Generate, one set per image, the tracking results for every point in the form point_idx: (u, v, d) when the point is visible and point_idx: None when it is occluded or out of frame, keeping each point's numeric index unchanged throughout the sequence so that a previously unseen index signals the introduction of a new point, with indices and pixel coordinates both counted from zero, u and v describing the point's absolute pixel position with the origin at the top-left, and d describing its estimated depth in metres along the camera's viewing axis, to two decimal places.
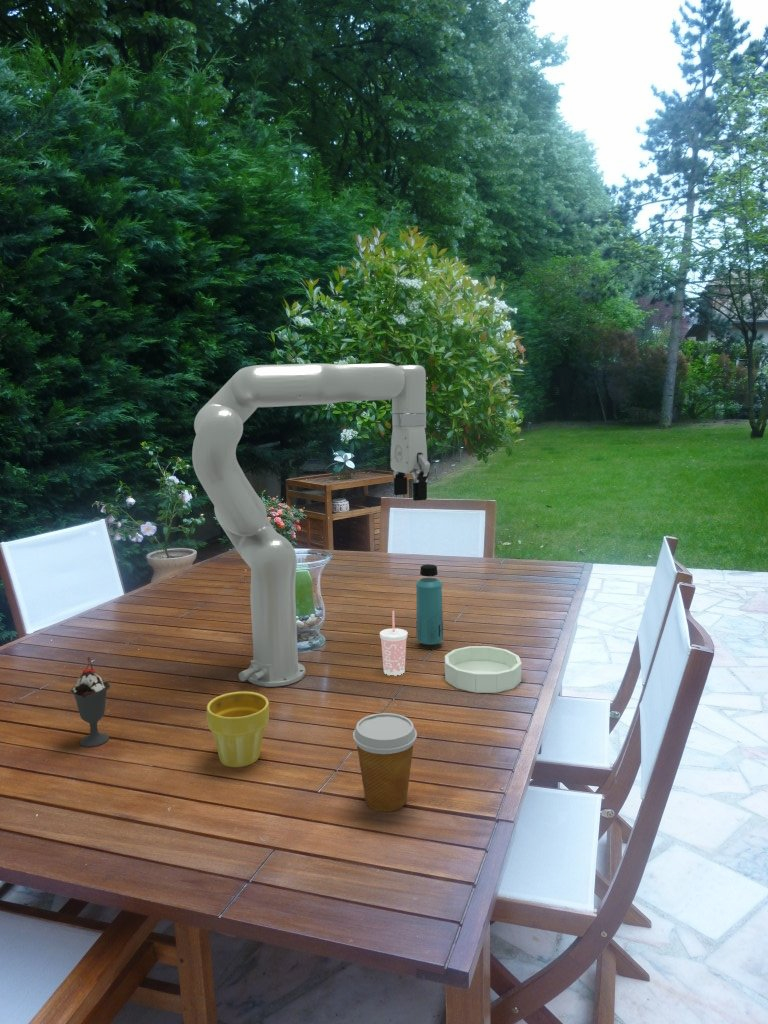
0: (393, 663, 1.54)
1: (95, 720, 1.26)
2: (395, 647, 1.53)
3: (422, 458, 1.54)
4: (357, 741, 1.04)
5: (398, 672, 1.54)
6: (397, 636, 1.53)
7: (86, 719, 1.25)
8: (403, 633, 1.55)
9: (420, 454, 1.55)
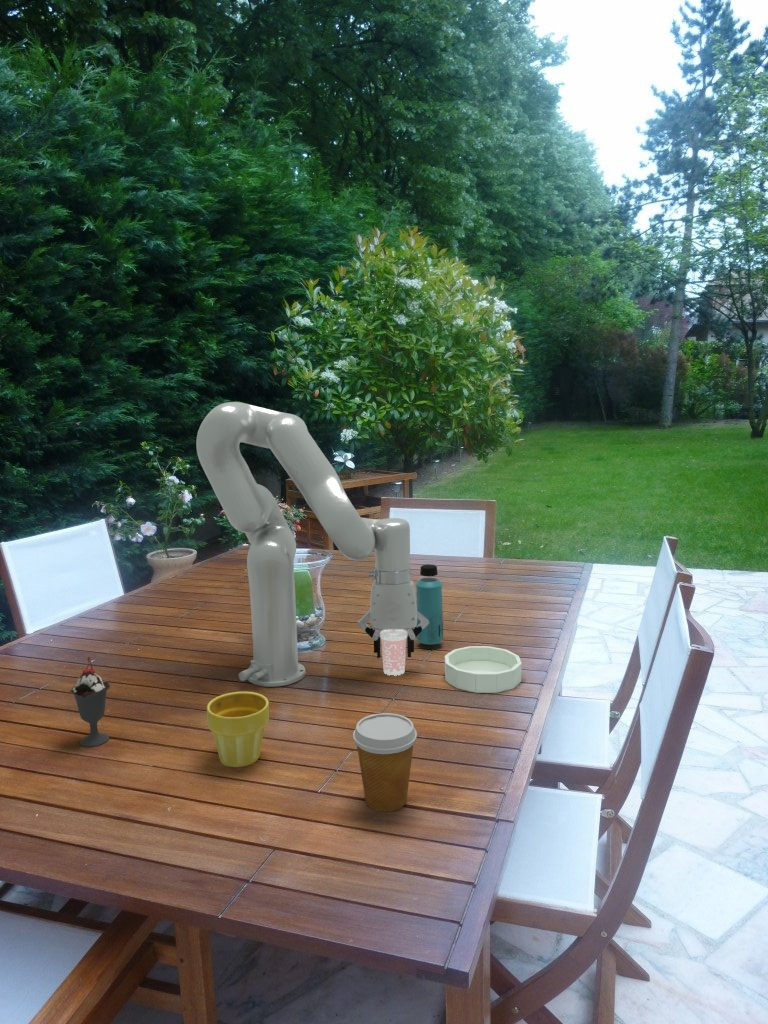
0: (393, 663, 1.54)
1: (95, 720, 1.26)
2: (395, 647, 1.53)
3: (421, 614, 1.54)
4: (357, 741, 1.04)
5: (398, 672, 1.54)
6: (397, 636, 1.53)
7: (86, 719, 1.25)
8: (403, 633, 1.55)
9: None
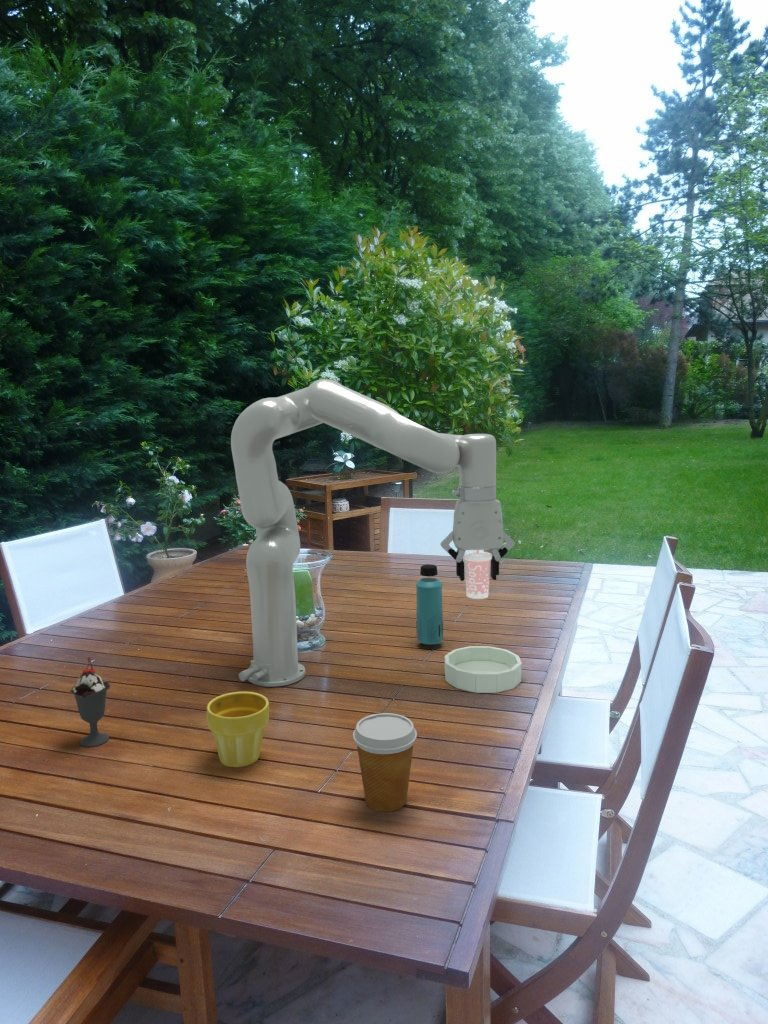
0: (478, 585, 1.47)
1: (95, 720, 1.26)
2: (480, 568, 1.46)
3: None
4: (357, 741, 1.04)
5: (483, 595, 1.48)
6: (482, 557, 1.47)
7: (86, 719, 1.25)
8: (487, 554, 1.48)
9: None
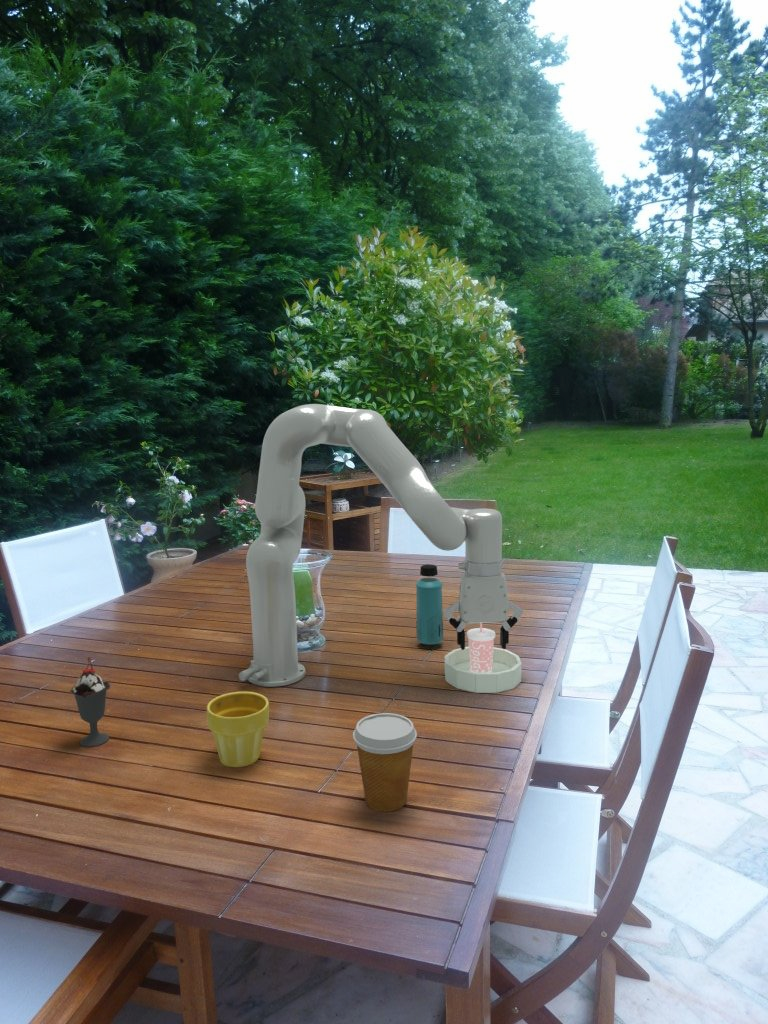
0: (482, 663, 1.50)
1: (95, 720, 1.26)
2: (484, 647, 1.49)
3: (513, 604, 1.50)
4: (357, 741, 1.04)
5: None
6: (486, 636, 1.49)
7: (86, 719, 1.25)
8: (491, 633, 1.51)
9: None
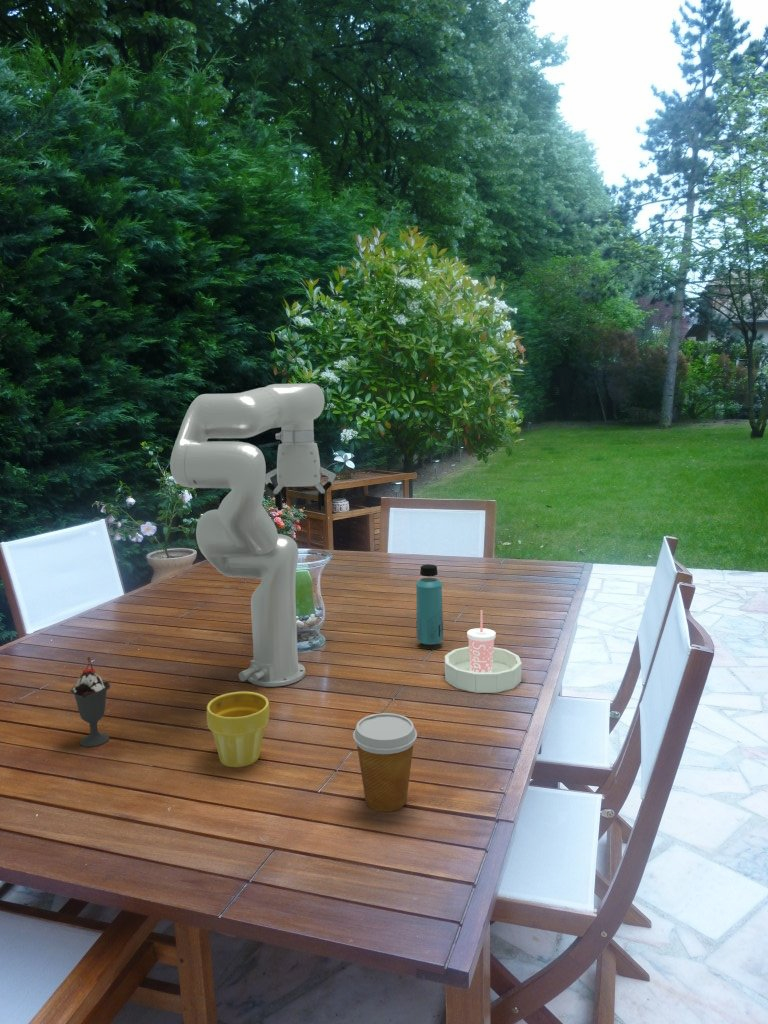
0: (482, 663, 1.50)
1: (95, 720, 1.26)
2: (484, 647, 1.49)
3: (326, 470, 1.69)
4: (357, 741, 1.04)
5: None
6: (486, 636, 1.49)
7: (86, 719, 1.25)
8: (491, 633, 1.51)
9: (320, 467, 1.69)
